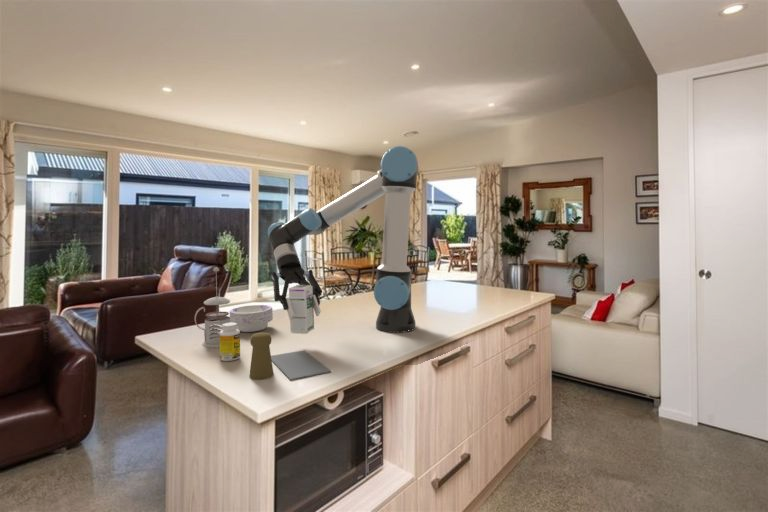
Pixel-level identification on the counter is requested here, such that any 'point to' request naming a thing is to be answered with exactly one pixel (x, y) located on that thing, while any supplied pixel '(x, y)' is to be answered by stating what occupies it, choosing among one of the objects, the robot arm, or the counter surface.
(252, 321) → the white bowl
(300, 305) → the syrup box
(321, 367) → the mat
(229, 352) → the supplement bottle
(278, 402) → the counter surface
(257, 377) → the olive pawn
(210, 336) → the french press
